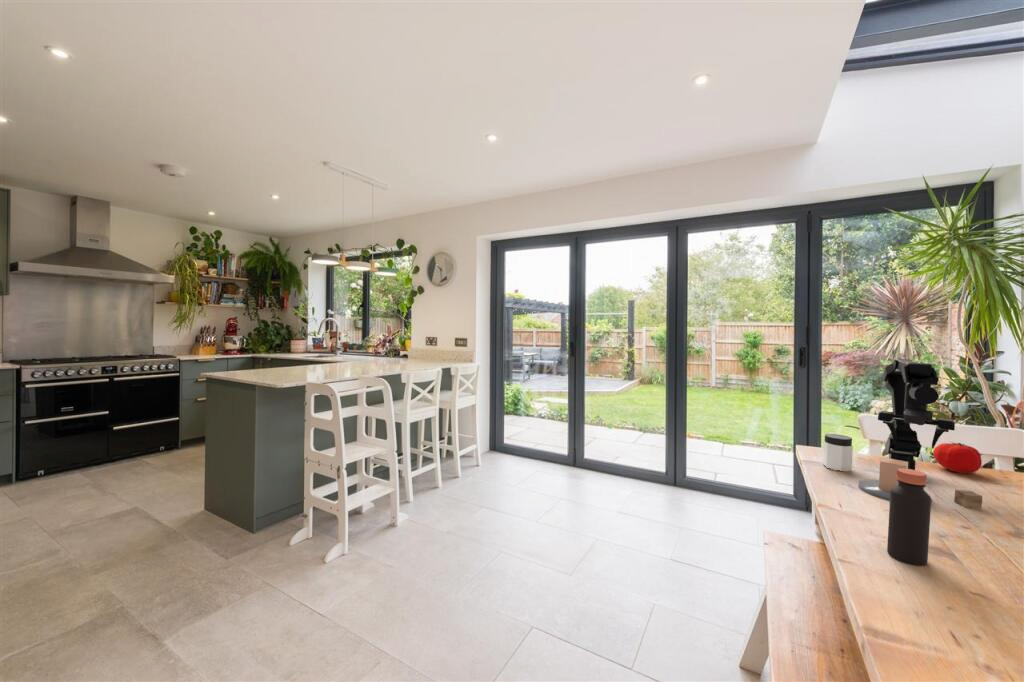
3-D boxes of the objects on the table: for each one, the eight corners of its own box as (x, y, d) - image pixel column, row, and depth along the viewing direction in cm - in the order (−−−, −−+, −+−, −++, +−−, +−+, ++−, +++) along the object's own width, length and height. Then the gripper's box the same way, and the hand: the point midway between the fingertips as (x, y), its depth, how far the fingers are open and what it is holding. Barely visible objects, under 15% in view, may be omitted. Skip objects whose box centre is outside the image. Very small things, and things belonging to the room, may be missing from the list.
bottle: (914, 568, 92) (919, 478, 91) (879, 552, 99) (884, 468, 98) (935, 563, 94) (940, 475, 93) (899, 548, 101) (904, 465, 100)
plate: (863, 495, 132) (863, 492, 132) (853, 479, 146) (854, 475, 146) (938, 509, 123) (938, 505, 123) (920, 489, 138) (920, 486, 138)
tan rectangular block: (880, 484, 139) (882, 457, 139) (906, 489, 135) (908, 461, 134) (878, 488, 135) (880, 461, 134) (905, 494, 130) (906, 466, 130)
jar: (854, 469, 157) (856, 437, 157) (848, 473, 152) (850, 440, 152) (825, 462, 164) (827, 432, 164) (819, 466, 159) (820, 435, 158)
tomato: (987, 479, 148) (989, 450, 148) (938, 472, 155) (940, 444, 154) (972, 469, 160) (973, 441, 159) (927, 462, 166) (929, 436, 166)
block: (954, 502, 128) (955, 489, 128) (970, 504, 127) (971, 491, 127) (964, 508, 124) (965, 494, 124) (981, 509, 124) (982, 496, 123)
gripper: (877, 398, 144) (874, 443, 145) (956, 406, 131) (953, 456, 131) (880, 395, 152) (878, 437, 153) (955, 402, 139) (953, 449, 139)
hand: (913, 445), depth 144 cm, fingers open, 9 cm apart
